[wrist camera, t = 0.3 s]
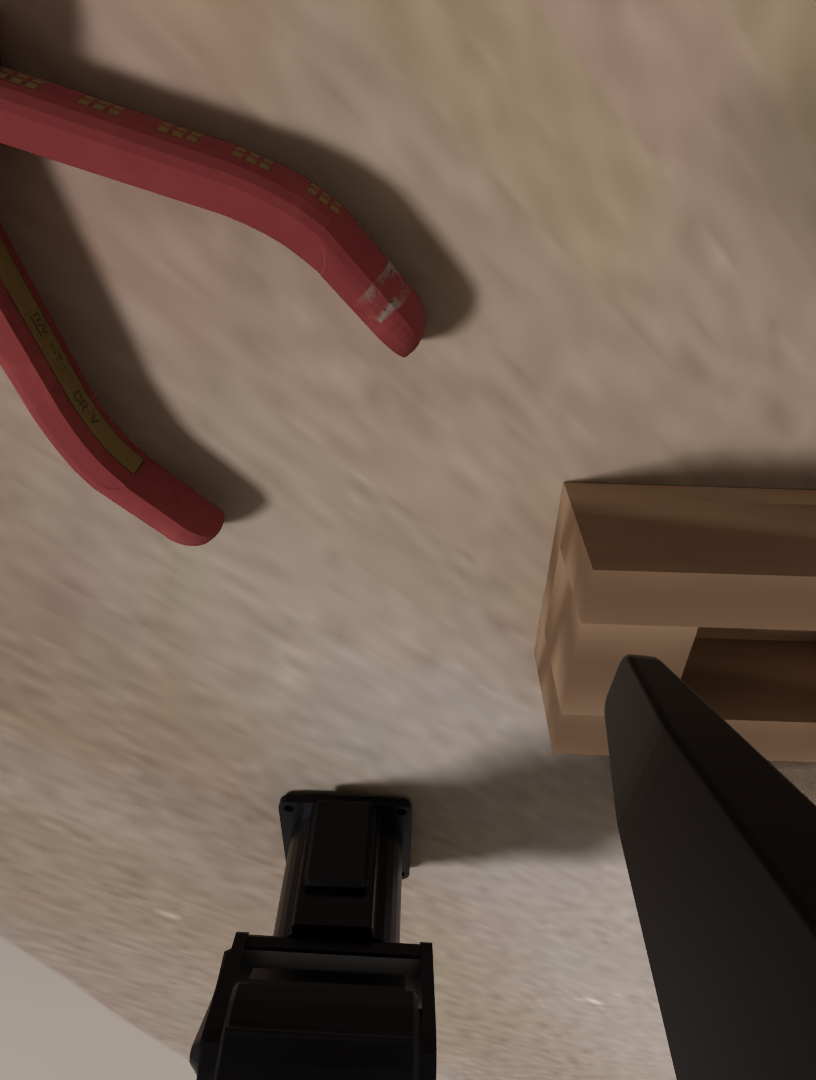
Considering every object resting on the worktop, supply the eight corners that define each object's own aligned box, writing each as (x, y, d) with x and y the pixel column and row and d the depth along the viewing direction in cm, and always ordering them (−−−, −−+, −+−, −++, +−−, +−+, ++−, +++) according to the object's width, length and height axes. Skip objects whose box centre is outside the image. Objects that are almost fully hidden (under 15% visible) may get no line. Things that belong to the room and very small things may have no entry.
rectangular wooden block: (877, 664, 28) (956, 766, 24) (534, 653, 28) (552, 753, 24) (973, 494, 23) (1091, 585, 19) (563, 482, 23) (593, 569, 19)
